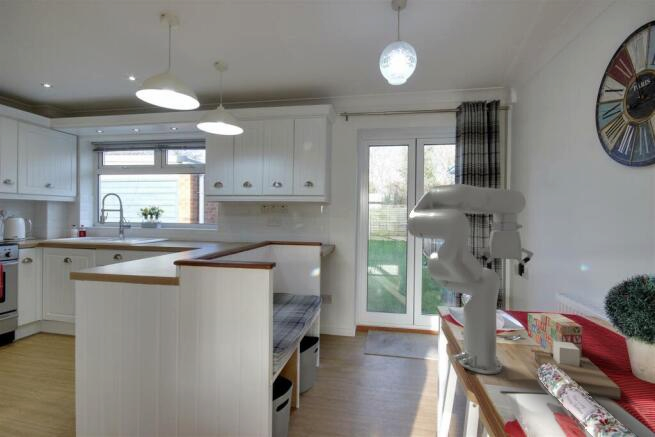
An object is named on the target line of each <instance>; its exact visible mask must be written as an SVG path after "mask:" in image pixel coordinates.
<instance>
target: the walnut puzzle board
mask: <svg viewBox="0 0 655 437" xmlns="http://www.w3.org/2000/svg"><path fill="white" fill-rule="evenodd" d="M534 361H535V362H536V363H537V365H538V366H539V367H540V366H541V365H543V364H548V363H550V364H554V365H556V366H557V367H558V368H559V369H561V370H563V371H564V372H565V373H566V374H567V375H568V376H569V377H570V378H571V379H572V380H573V381H575V382H576V383H577V384H578V385H579V386H581V387H582V388H583V389H584V390H585V391H587V392H588V393H589V394H590V395H589V396H594V397H599V398H600V397H601V398H607V399H614V400H621V388H620V387H619V386H618V384H616V383H615V382H614V381H613V380H612V379H611V378H610V377H608V375H606V374H605V373H604V372H603V371H602V370H601V369H600V368H599V367H598V366H597V365H595V364H594V362H593V361H591V360H590V359H589V358H588V357H587V356H582V357H580V360H579V367H578V366H571V365H564V364H557V362H556V361H555V360H554V359H553V353H551V352H549V351H540V350H534Z"/></svg>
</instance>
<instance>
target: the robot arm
mask: <svg viewBox="0 0 655 437" xmlns="http://www.w3.org/2000/svg"><path fill="white" fill-rule="evenodd" d="M524 195H525V194H523V193H522V192H521V191H519V190H516V189H507V188H494V187H480V186H475V185H470V184H465V183H464V184H463V183H456V184H453V183H452V184H442V185H434V186H431V187H430V188H429V189H428V190H426V191H425V193H424V194H423V195H422V196H421V197H420V198H419V200H418V202H417V203H416V205H415V206H414V207H413V209H412V210H411V212H410V213H409V215H408V218H407V220H406V227H407V230H408V232H409V234H410V235H411V236H413V237H415V238H419V239H428V240H429V239H431V240H432V239H433V240H443V241H444V242H443V243H442V244H441V246H440V247H439V249H438V250H434V251H432V252H431V254H429V256H428V259H427V263H426V265H427V270H428V273H429V275H430V277H431V278H432V279H433V280H434V281H435V282H437V283H438V284H439V285H440V286H442V288H444V289H446V290H448V291H451V292H454V293H458V294H463V295H468V296H471V297H470V299H469V300H468V301H467V302H466V303H465V304H464V306H463V312H462V313H463V348H460V352H458V354H457V353H456V354H451V360H452V362H459V364H460V365H461V366H462V367H463V368H465V369H467V370H469V371H471V372H475V373H478V374H483V375H484V374H485V375H493V374H498V373H501V372H502V370H503V365H502V364H503V363H501V361H499V360H498V359H497V311H498V310H497V303H498V296H499V291H500V285H501V278H500V276H499V274H498V273H497V272H496V271H495V270H493V269H492V265H493V264H492V261H493V260H494V259H499V260H500V259H502V260H503V259H504V260H517V262H519V263H518V266H517V267H518V272H517V273H518V276H520V277H523V274H525V265H526V264H527V263H528V262H529V261H530V260H531V259H532V258H533V255H534V252H532V251H530V250H528V249H526V248H524V247H522V240H521V238H522V237H521V233H520V231H519V229H523V226H522V224H519V223H518V214H520V213H522V212H523V211H524V210H525V207H526V197H525V196H524ZM466 214H472V215H473V214H474V215H492V216H493V218H492V219H493V220H492V221H493V222H492V224H493V225H492V228H493V230H490V234H489V243H488V246H486V247H483V248H481V249H479V250H478V252H477V253H478V254H479V255H480V257H481V259H483V260H484V261H485V262H486V267H483V266H482V263H481V262H480V261H479V260H478V258H477V257H476V256H475V255H474V254H473V253H472V252H471V251H470V250H469V248H468V245H469V235H470V223H469V219H468V217H467V215H466ZM486 252H488V255H489V256H486V255H485V253H486ZM523 253H525V254H526V257H524V258H522V255H523Z"/></svg>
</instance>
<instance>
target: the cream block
mask: <svg viewBox="0 0 655 437" xmlns="http://www.w3.org/2000/svg"><path fill="white" fill-rule="evenodd" d="M553 359H554V360H555V361H556V362H557V364H564V365H571V366H578V367H579V360H580V350H579V349H578V348H577V347H576V346H575V345H574V344H573V343H568V342H559V341H553Z"/></svg>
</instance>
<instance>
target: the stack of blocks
mask: <svg viewBox="0 0 655 437" xmlns="http://www.w3.org/2000/svg"><path fill="white" fill-rule="evenodd" d="M527 336H529V337H530V338H531V339H532V340H533V341H534V342H536V343H537V344H538V345H540V346H541V347H542V348H544V349H546V350H547V352H548V353H553V341H559V342H568V343H573V344H574V345H575V346H576V347H577V348H578V349H579V350H580V357H583V353H582V351H583V350H582V349H583V348H582V347H583V346H582V344H583V325H580V324H579V323H577V322H576V321H574V320H572V319H570V318H568V317H566V316H564V315H562V314H560V313H551V312H548V313H547V312H541V313H538V312H537V313H536V312H533V313H532V312H531V313H529V312H527Z"/></svg>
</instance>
